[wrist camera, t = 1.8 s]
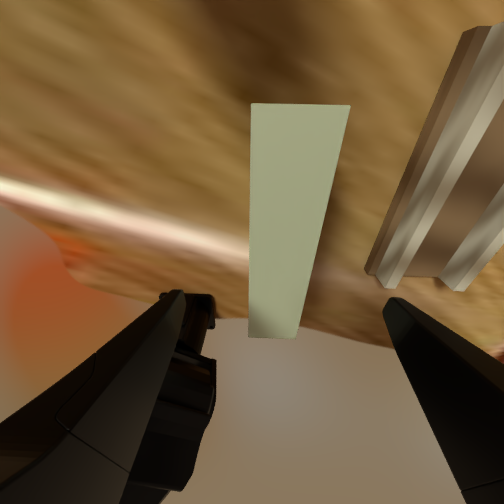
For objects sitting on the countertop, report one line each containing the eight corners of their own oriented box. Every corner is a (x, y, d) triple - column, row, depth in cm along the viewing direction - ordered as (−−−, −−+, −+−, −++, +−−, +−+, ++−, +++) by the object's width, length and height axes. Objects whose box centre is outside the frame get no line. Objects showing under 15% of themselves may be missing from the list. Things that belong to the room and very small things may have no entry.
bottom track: (447, 271, 22) (471, 291, 19) (364, 268, 22) (377, 287, 20) (619, 34, 12) (715, 12, 9) (463, 32, 12) (516, 10, 9)
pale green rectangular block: (283, 265, 22) (295, 339, 15) (252, 263, 22) (248, 337, 15) (304, 111, 15) (350, 105, 7) (255, 110, 15) (251, 103, 7)
